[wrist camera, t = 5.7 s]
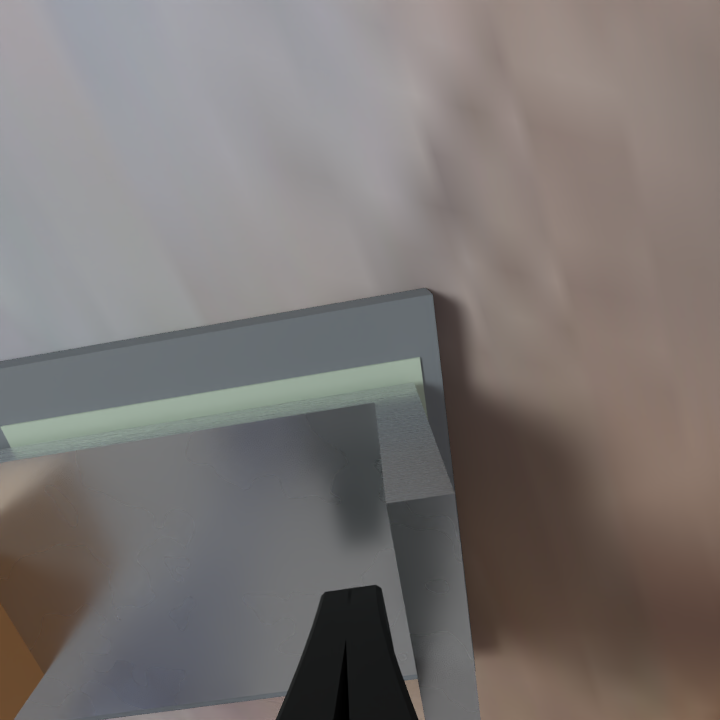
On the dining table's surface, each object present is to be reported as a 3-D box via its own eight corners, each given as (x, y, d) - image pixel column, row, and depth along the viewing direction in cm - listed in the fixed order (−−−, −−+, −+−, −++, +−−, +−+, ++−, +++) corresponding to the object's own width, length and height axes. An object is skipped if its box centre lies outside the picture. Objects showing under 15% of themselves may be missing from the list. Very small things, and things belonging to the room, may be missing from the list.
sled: (449, 642, 13) (494, 839, 9) (-111, 716, 14) (-311, 928, 10) (413, 382, 10) (454, 493, 6) (-293, 496, 11) (-692, 665, 7)
